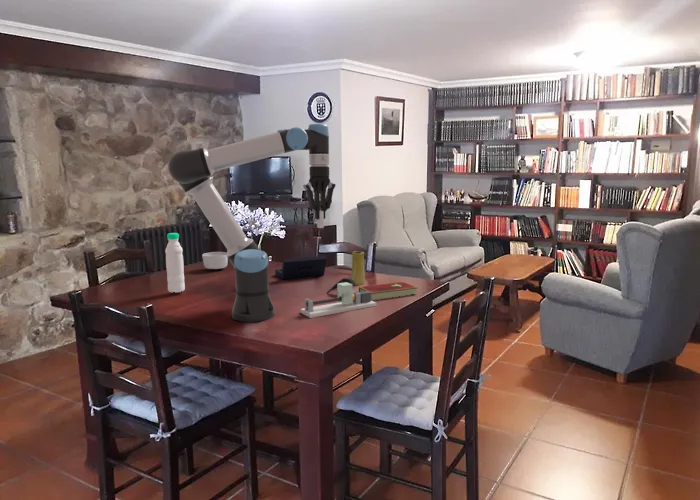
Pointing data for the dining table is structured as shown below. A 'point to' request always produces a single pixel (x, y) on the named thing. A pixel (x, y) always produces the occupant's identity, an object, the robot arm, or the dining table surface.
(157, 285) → the dining table surface
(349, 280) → the power plug
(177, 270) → the water bottle
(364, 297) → the linear slide rail
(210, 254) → the ramekin
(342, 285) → the pale green block
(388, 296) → the hardcover book
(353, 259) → the vase
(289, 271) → the storage box
